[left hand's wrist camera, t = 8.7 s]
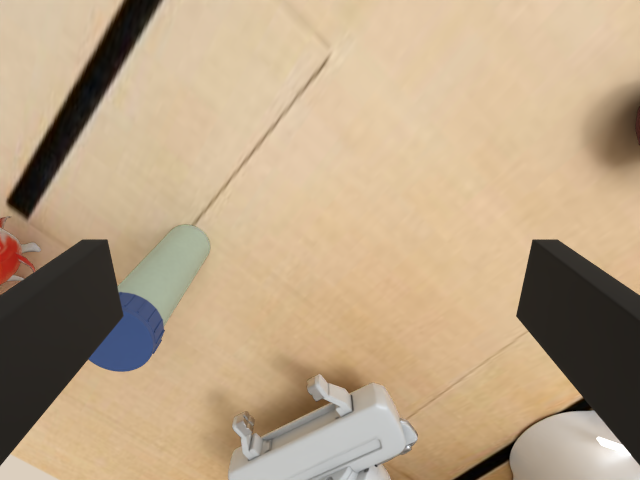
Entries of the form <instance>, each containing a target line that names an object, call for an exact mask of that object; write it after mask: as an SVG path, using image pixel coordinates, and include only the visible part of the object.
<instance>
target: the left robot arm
mask: <svg viewBox="0 0 640 480" xmlns="http://www.w3.org/2000/svg"><path fill="white" fill-rule="evenodd" d="M123 316H124V315H123V310H122V306H121V301H120V296H119V292H118V287H117V282H116V278H115V273H114V268H113V264H112V259H111V254H110V250H109V245H108V240H81V241H80V242H78V243H77V244H75V245H74V246H72V247H71V248H69V249H68V250H67V251H65V252H64V253H62V254H61V255H59V256H58V257H56V258H55V259H53V260H52V261H50V262H49V263H47V264H46V265H44V266H43V267H41V268H40V269H39V270H37V271H36V272H34V273H33V274H31V275H30V276H28V277H27V278H25V279H24V280H22V281H21V282H19V283H18V284H16V285H15V286H14V287H12V288H11V289H9V290H8V291H6V292H5V293H3V294H2V295H0V465H1V464H2V463H3V462H4V461H5V459H6V458H7V457H8V456H9V455H10V453H11V452H12V451H13V450H14V448H15V447H16V446H17V445H18V444H19V442H20V441H21V440H22V439H23V438H24V436H25V435H26V434H27V433H28V431H29V430H30V429H31V428H32V427H33V425H34V424H35V423H36V422H37V421H38V419H39V418H40V417H41V416H42V415H43V413H44V412H45V411H46V410H47V408H48V407H49V406H50V405H51V404H52V402H53V401H54V400H55V399H56V398H57V396H58V395H59V394H60V393H61V392H62V390H63V389H64V388H65V387H66V385H67V384H68V383H69V382H70V381H71V379H72V378H73V377H74V376H75V375H76V373H77V372H78V371H79V370H80V368H81V367H82V366H83V365H84V364H85V362H86V361H87V360H88V359H89V358H90V356H91V355H92V354H93V353H94V352H95V350H96V349H97V348H98V347H99V345H100V344H101V343H102V342H103V341H104V339H105V338H106V337H107V336H108V335H109V333H110V332H111V331H112V330H113V329H114V327H115V326H116V325H117V324H118V322H119V321H120V320H121V319H122V318H123ZM516 316H517V318H518V319H519V320H520V321H521V322H522V324H523V325H524V326H525V327H526V329H527V330H528V331H529V332H530V333H531V335H532V336H533V337H534V338H535V339H536V341H537V342H538V343H539V344H540V345H541V347H542V348H543V349H544V350H545V352H546V353H547V354H548V355H549V356H550V358H551V359H552V360H553V361H554V362H555V364H556V365H557V366H558V367H559V369H560V370H561V371H562V372H563V373H564V375H565V376H566V377H567V378H568V379H569V381H570V382H571V383H572V384H573V385H574V387H575V388H576V389H577V390H578V392H579V393H580V394H581V395H582V396H583V398H584V399H585V400H586V401H587V402H588V404H589V405H590V406H591V407H592V408H593V410H594V411H595V412H596V413H597V415H598V416H599V417H600V418H601V419H602V421H603V422H604V423H605V424H606V425H607V427H608V428H609V429H610V430H611V431H612V433H613V434H614V435H615V436H616V438H617V439H618V440H619V441H620V442H621V444H622V445H623V446H624V447H625V448H626V450H627V451H628V452H629V453H630V455H631V456H632V457H633V458H634V459H635V461H636V462H637V463H638V464H639V465H640V295H638V294H637V293H635V292H634V291H632V290H631V289H629V288H628V287H626V286H625V285H624V284H622V283H621V282H619V281H618V280H616V279H615V278H613V277H612V276H610V275H609V274H607V273H606V272H604V271H603V270H601V269H600V268H599V267H597V266H596V265H594V264H593V263H591V262H590V261H588V260H587V259H585V258H584V257H582V256H581V255H579V254H578V253H576V252H575V251H573V250H572V249H571V248H569V247H568V246H566V245H565V244H563V243H562V242H560V241H559V240H532V245H531V250H530V254H529V259H528V264H527V268H526V273H525V278H524V282H523V287H522V292H521V296H520V301H519V306H518V310H517V315H516Z"/></svg>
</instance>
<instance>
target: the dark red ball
mask: <svg viewBox="0 0 640 480" xmlns="http://www.w3.org/2000/svg"><path fill="white" fill-rule="evenodd" d="M636 134H637V138H638V142H639V145H640V107H639V109H638V112H637V119H636Z"/></svg>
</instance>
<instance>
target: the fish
mask: <svg viewBox="0 0 640 480" xmlns="http://www.w3.org/2000/svg"><path fill="white" fill-rule="evenodd" d="M7 218H10V217H4V218H1V219H0V284H2V283H4V282H6V281H22V280H24V278H22V277H19V276H16V275H13V274H14V273H15V272H16V271H17V269H18V267H19V265H20V263H21V262H22V263H24V264H26V265H28V266H30V268H31V269H32V270H33V272H35V268H34V266H33V264H32V263H30V262H29V261H28V260H27V259H26V258H25V257H23V256H22V253H25V252H40V251H41V249H40V247H39V246H38V245H37V244H36V243H33V242H32V243H28V244H20V242H19V240H18V239H17V238H16V237H15V236H13V235H12V234H10V233H9V232H7V231H6V230H4V229H3V227H4V224H5V221H6V219H7Z"/></svg>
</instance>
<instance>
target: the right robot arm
mask: <svg viewBox="0 0 640 480" xmlns="http://www.w3.org/2000/svg"><path fill="white" fill-rule="evenodd" d="M307 383H308V385H307V390H308V392H309V393H310V395H313V398H314V400H315V401H319V400H321V399H325V400H327V401H329V402H331V403H329V404H327V405H325V406H322V407H320V408H318V409H316V410H314V411H312V412H310V413H308V414H306V415H304V416H302V417H300V418H298V419H296V420H294V421H292V422H290V423H288V424H285V425H283V426H281V427H279V428H277V429H275V430H273V431H271V432H269V433H267V434H265V435H263V436H261V437H260V436H259V435H258V434H257V433H254V434H253V435H251V433H253V425H254V422H255V419H254V418H253V417H252V416H250V415H249V413H248V412H247V411H245V412H243V413H241V414H239V415H237V416H235V417H234V420H233V424H232V427H233V430H234V431H235V432H236V433H237V434H238V435H239V436H240V437H241V445H242V446H240V447H238V448H236V449H235V450H234V451H233V454H232V457H231V461H230V465H229V470H228V480H392V479H391V478H390V475H389V473H388V471H387V470H386V468H385V467H384V465H383V463H385V462H387V461H389V460H391V459H393V458H394V457H396V456H399V455H403V454H406V453H408V452H409V451H410V450H411V449H412V447H411V446H413V445H414V444H415V443H416V441H417V438H418V435H417V432H416V430H415V429H414V428H413V426H412V425H411V424H410V423H409V422H408V421H407V420H405V419H402V418H400V415H399V413H398V410H397V408H396V406H395V404H394V402H393V400H392V398H391V396H390V395H389V393H388V391H387V390H386V388H385V387H384V386H383V385H380V384H377V383H370V384H368V385H366V386H363V387H361V388H359V389H357V390H355V391H353V392H351V393H348V392H347V390H346V389H345V388H342V387H339V386H336V385H333V384H331V383H327V382H326V380H325V379H324V378H323V377H322V375H321V374H318V375H316V376H314V377H312V378H310V379H309V380H307ZM510 467H511V470H512V473H513V477H514V478H513V480H640V465H639V464H638V463H637V462H636V461H635V459H634V458H633V457H632V456H631V455H630V453H629V452H628V451H627V450H626V448H625V447H624V446H623V445H622V444H621V442H620V441H619V440H618V439H617V438H616V436H615V435H614V434H613V433H612V431H611V430H610V429H609V428H608V427H607V425H606V424H605V423H604V422H603V421H602V419H601V418H600V417H599V416H598V415H597V413H596V412H595V411H594V410H593V411H573V412H565V413H560V414H557V415H553V416H550V417H548V418H545V419H543V420H541V421H539V422H537V423H536V424H534V425H533V426H531V427H530V428H528V429H527V430H526V431H525V432H524V433H523V434H522V435H521V436H520V437H519V438H518V439H517V441H516V442H515V444H514V445H513V447H512V450H511V453H510Z"/></svg>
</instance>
